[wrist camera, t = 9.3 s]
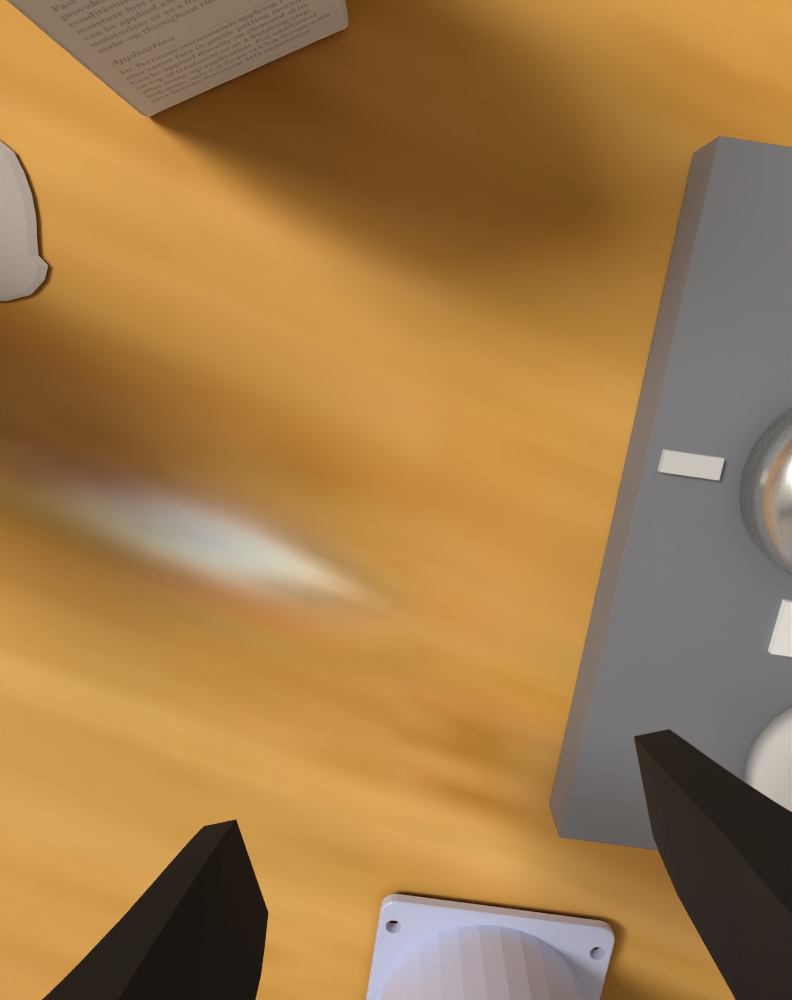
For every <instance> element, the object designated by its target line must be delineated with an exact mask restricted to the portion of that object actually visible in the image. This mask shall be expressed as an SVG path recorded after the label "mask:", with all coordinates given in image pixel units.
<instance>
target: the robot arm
mask: <svg viewBox="0 0 792 1000" xmlns="http://www.w3.org/2000/svg"><path fill="white" fill-rule="evenodd" d="M634 740H635V746H636V751H637V756H638V761H639V767H640V772H641V777H642V782H643V788H644V793H645V798H646V804H647V809H648V814H649V819H650V825H651V830H652V835H653V838H654V841H655V843H656V845H657V848H658V850H659V853H660V855H661V857H662V860H663V862H664V865H665V867H666V869H667V872H668V874H669V876H670V879H671V881H672V883H673V885H674V888H675V890H676V892H677V895H678V897H679V898H680V900H681V902H682V904H683V906H684V908H685V909H686V911H687V913H688V915H689V917H690V918H691V920H692V922H693V924H694V926H695V927H696V929H697V931H698V933H699V935H700V936H701V938H702V940H703V942H704V944H705V945H706V947H707V949H708V951H709V953H710V954H711V956H712V958H713V960H714V962H715V963H716V965H717V967H718V969H719V970H720V972H721V974H722V976H723V978H724V979H725V981H726V983H727V985H728V987H729V988H730V990H731V992H732V994H733V995H734V997H735V999H736V1000H792V812H791V811H789V810H788V809H786V808H784V807H783V806H781V805H779V804H778V803H776V802H775V801H773V800H771V799H770V798H768V797H767V796H765V795H764V794H762V793H761V792H759V791H758V790H756V789H755V788H753V787H751V786H750V785H748V784H747V783H745V782H744V781H742V780H741V779H739V778H738V777H736V776H735V775H733V774H732V773H731V772H729V771H728V770H726V769H725V768H723V767H722V766H720V765H719V764H718V763H716V762H715V761H713V760H712V759H711V758H709V757H708V756H706V755H705V754H704V753H702V752H701V751H699V750H698V749H697V748H695V747H694V746H693V745H691V744H690V743H688V742H687V741H686V740H684V739H683V738H681V737H680V736H679V735H677V734H676V733H674V732H673V731H671V730H670V729H667V730H662V731H657V732H653V733H648V734H643V735H638V736H634ZM267 920H268V911H267V908H266V905H265V902H264V899H263V896H262V893H261V890H260V888H259V885H258V882H257V879H256V876H255V873H254V870H253V867H252V864H251V861H250V859H249V856H248V853H247V850H246V847H245V844H244V841H243V838H242V835H241V832H240V830H239V827H238V824H237V821H236V820H232V821H227V822H222V823H217V824H212V825H208V826H204V827H203V828H202V829H201V830H200V831H199V832H198V833H197V834H196V835H195V836H194V837H193V838H192V839H191V840H190V841H189V843H188V844H187V845H186V846H185V847H184V848H183V849H182V850H181V852H180V853H179V854H178V855H177V856H176V857H175V858H174V860H173V861H172V862H171V863H170V864H169V865H168V866H167V868H166V869H165V870H164V871H163V872H162V873H161V874H160V876H159V877H158V878H157V879H156V880H155V881H154V882H153V884H152V885H151V886H150V887H149V888H148V889H147V890H146V892H145V893H144V894H143V895H142V896H141V897H140V898H139V899H138V901H137V902H136V903H135V904H134V905H133V906H132V907H131V909H130V910H129V911H128V912H127V913H126V914H125V915H124V916H123V918H122V919H121V920H120V921H119V922H118V923H117V924H116V925H115V926H114V927H113V928H112V929H111V930H110V931H109V932H108V933H107V934H106V936H105V937H104V938H103V939H102V940H101V941H100V942H99V943H98V944H97V945H96V946H95V947H94V948H93V949H92V950H91V951H90V952H89V953H88V955H87V956H86V957H85V958H84V959H83V960H82V961H81V962H80V963H79V964H78V965H77V966H76V967H75V968H74V969H73V970H72V971H71V972H70V973H69V974H68V975H67V976H66V977H65V978H64V979H63V980H62V981H61V982H60V983H59V984H58V985H57V986H56V987H55V988H54V989H53V990H52V991H51V992H50V993H49V994H48V995H47V996H46V997H45V998H43V999H42V1000H255V999H256V994H257V990H258V986H259V981H260V977H261V971H262V963H263V955H264V948H265V939H266V929H267ZM392 920H395V921H398V923H394V924H392V923H390V922H389V921H392ZM614 943H615V937H614V934H613V931H612V929H611V926H610V925H609V924H608V923H606V922H603V921H600V920H592V919H584V918H577V917H569V916H561V915H554V914H546V913H539V912H531V911H523V910H516V909H508V908H501V907H493V906H485V905H478V904H470V903H462V902H455V901H447V900H440V899H432V898H424V897H417V896H409V895H401V894H391V895H389V896H387V897H386V898H384V899H383V901H382V904H381V908H380V915H379V921H378V927H377V933H376V939H375V945H374V951H373V958H372V964H371V970H370V976H369V982H368V988H367V994H366V1000H600V997H601V993H602V989H603V985H604V981H605V977H606V973H607V970H608V966H609V962H610V958H611V954H612V950H613V947H614ZM595 947H600V948H598V949H595V950H592V949H593V948H595Z"/></svg>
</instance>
